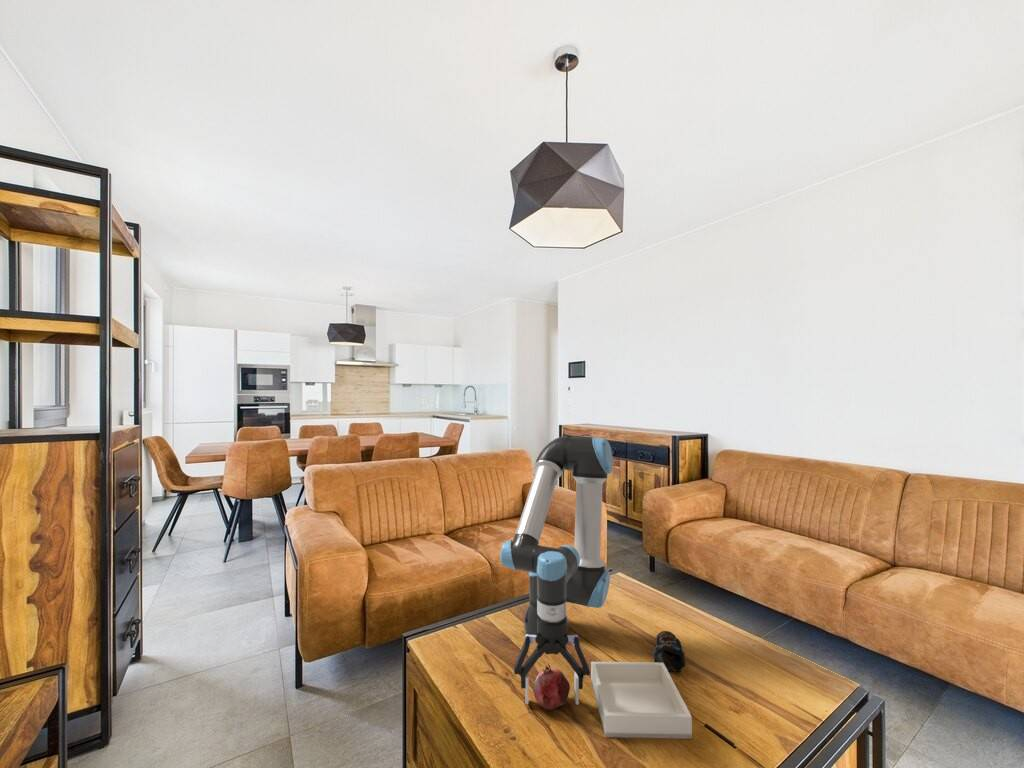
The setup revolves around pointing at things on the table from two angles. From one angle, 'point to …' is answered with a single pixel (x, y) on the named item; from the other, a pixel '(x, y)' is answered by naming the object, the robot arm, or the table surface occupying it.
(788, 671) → the table surface
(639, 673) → the dish
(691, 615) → the table surface
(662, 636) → the figurine
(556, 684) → the fruit
